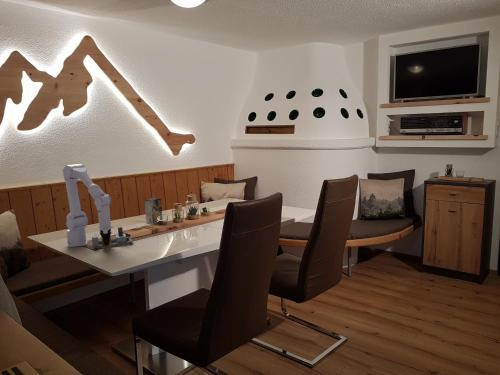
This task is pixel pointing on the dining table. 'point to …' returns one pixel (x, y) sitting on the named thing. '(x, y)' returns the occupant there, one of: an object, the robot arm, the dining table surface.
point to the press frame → (96, 241)
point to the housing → (106, 245)
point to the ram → (120, 236)
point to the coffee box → (153, 210)
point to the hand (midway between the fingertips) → (106, 243)
